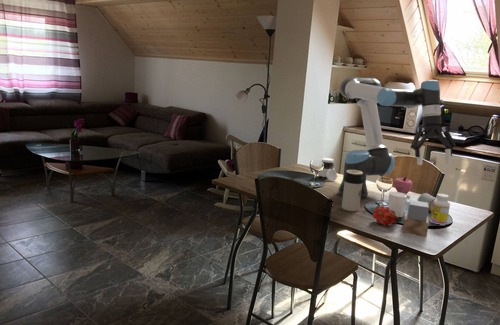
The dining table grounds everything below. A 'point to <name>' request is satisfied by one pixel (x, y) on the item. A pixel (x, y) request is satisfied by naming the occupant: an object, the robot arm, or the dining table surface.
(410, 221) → the walnut base block
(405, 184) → the apple
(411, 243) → the dining table surface
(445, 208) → the supplement bottle
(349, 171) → the travel mug
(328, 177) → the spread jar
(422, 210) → the gray block
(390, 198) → the white cup
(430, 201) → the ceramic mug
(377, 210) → the dragon fruit
